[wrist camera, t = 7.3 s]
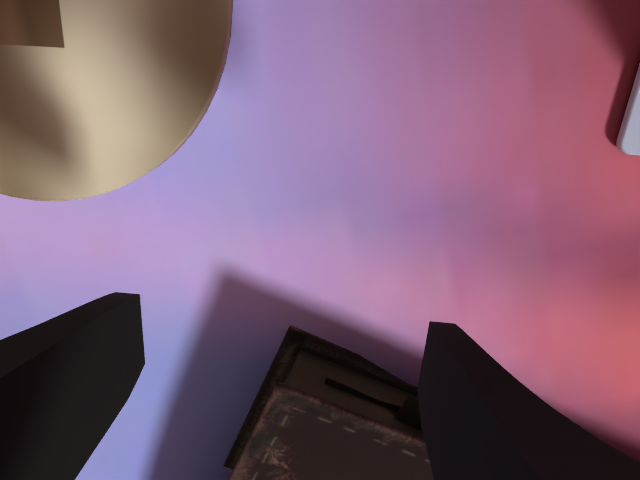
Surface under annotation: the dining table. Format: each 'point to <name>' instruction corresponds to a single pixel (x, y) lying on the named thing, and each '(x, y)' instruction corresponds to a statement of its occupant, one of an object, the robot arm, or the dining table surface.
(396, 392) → the diary
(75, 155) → the lid
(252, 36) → the dining table surface
